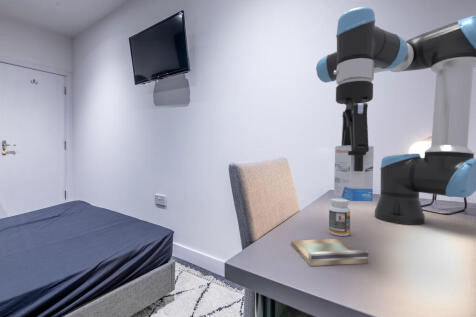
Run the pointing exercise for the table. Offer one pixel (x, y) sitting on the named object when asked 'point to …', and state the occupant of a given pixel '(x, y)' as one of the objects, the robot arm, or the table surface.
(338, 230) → the pill bottle
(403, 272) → the table surface
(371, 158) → the ink box
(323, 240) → the tan flat block
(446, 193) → the robot arm
